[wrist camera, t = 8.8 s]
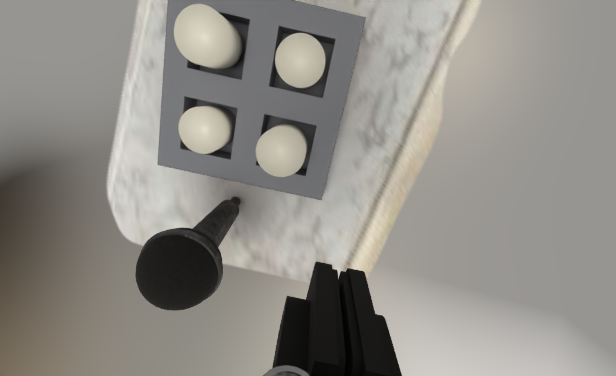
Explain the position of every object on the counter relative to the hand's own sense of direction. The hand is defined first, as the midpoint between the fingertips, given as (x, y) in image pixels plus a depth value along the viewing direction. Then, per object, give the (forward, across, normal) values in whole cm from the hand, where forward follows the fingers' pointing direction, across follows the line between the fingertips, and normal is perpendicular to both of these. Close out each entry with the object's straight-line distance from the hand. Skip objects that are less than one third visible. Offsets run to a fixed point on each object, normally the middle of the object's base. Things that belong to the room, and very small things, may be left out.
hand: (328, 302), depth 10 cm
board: (+29, +9, -5) cm, 31 cm away
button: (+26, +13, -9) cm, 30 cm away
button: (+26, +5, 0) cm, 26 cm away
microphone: (+29, +10, +9) cm, 32 cm away
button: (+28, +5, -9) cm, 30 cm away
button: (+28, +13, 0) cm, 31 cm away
